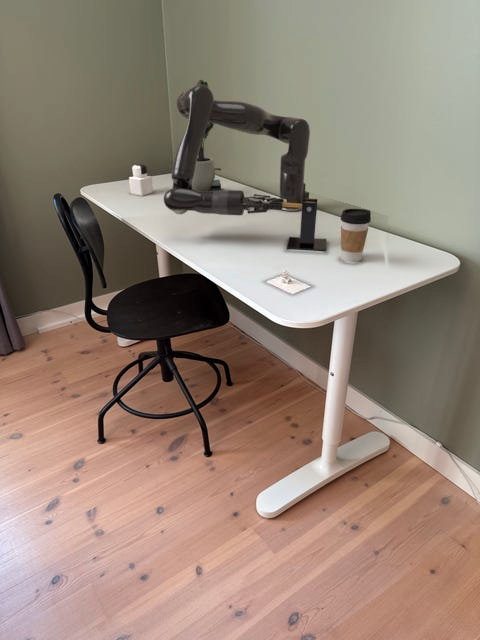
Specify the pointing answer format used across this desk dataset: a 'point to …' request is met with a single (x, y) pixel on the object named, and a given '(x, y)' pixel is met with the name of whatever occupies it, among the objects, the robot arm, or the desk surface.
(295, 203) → the black ball knob lever
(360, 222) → the coffee cup
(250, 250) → the desk surface
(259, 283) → the desk surface
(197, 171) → the potted plant
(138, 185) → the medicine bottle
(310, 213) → the black lever stand
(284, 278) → the adhesive hook
